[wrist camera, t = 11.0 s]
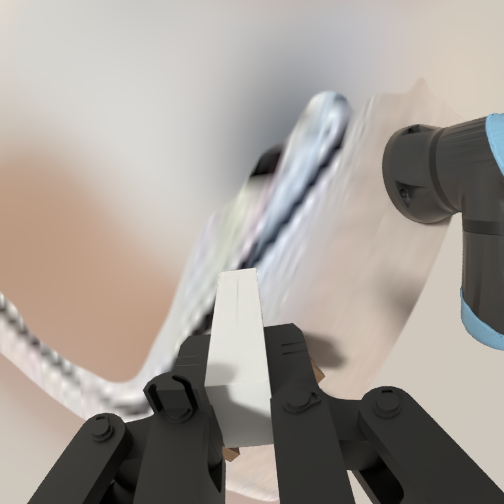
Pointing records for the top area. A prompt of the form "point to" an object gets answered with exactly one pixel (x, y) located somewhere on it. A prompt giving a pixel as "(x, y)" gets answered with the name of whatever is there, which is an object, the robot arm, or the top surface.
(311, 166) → the top surface
